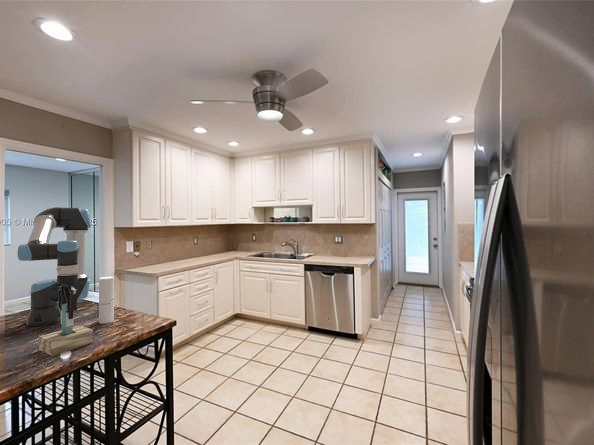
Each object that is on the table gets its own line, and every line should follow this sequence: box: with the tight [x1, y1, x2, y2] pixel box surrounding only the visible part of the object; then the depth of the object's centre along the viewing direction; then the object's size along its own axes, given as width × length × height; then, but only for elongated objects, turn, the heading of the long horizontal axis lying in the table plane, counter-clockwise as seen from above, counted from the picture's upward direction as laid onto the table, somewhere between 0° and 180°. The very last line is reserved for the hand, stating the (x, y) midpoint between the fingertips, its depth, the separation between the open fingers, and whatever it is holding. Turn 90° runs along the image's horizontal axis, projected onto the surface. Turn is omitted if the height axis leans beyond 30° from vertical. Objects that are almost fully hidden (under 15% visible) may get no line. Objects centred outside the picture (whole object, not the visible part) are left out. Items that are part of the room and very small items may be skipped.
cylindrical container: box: [98, 276, 115, 324], centre depth 167 cm, size 7×7×25 cm
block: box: [38, 324, 94, 357], centre depth 134 cm, size 12×16×6 cm
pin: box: [61, 303, 74, 336], centre depth 134 cm, size 4×4×14 cm
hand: (67, 324), depth 134 cm, fingers closed on pin, 4 cm apart
